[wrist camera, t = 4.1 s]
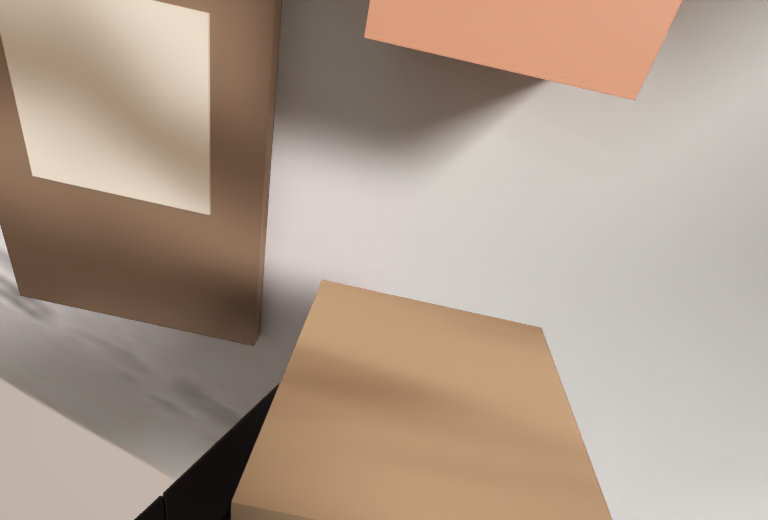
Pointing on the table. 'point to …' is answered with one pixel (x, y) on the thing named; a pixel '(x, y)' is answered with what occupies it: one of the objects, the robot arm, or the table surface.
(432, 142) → the table surface
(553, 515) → the oak cube
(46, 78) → the brown flat panel
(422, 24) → the terracotta cube
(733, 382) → the table surface
